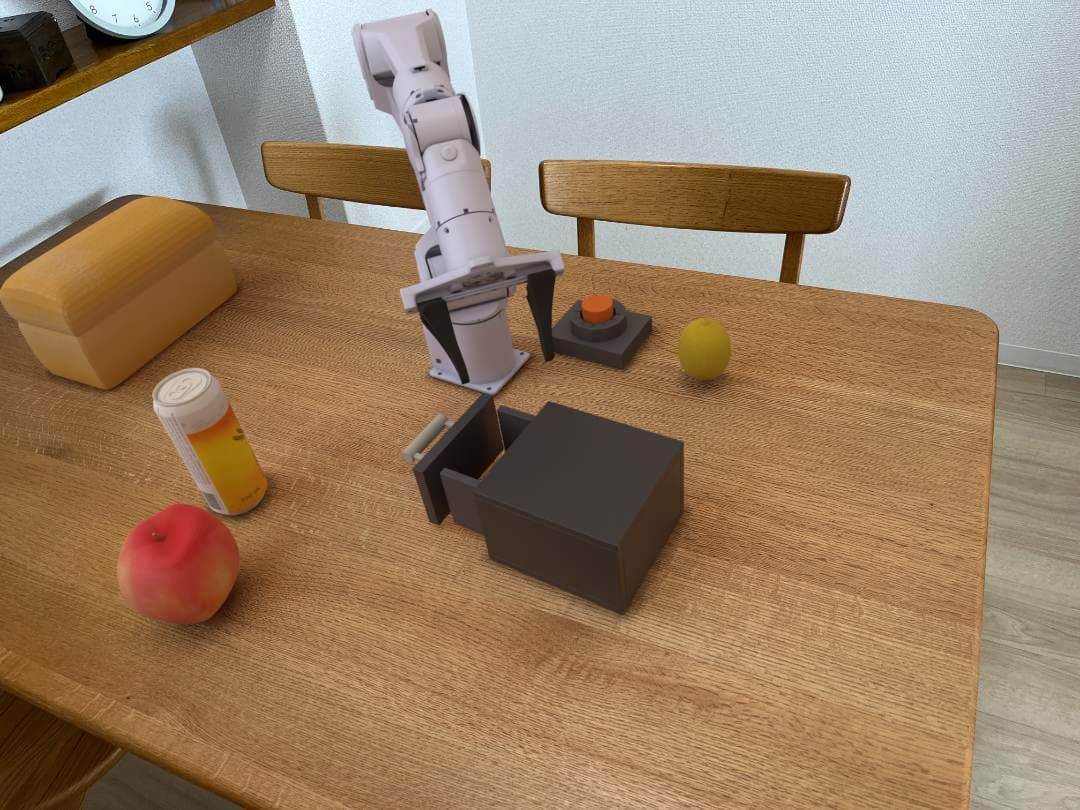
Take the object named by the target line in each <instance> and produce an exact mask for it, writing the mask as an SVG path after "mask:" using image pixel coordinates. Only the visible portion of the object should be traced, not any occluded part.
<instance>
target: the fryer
mask: <svg viewBox="0 0 1080 810" xmlns="http://www.w3.org/2000/svg"><path fill="white" fill-rule="evenodd" d="M534 416H535V417H534V419H533V420H532V421H531V422H530V423H529V425H528V426H527V427H526V428H525V429H524V430H523V432H522V433H521V434H520V435H519V436H518V438H517V439H516V440H515V441H514V442H513V444H512V445H511V446H510V447H509V448H508V449H507V451H506V452H505V451H504V452H503V454H502V455H501V456H500V458H498V460H497V461H496V462H495V463H494V465H493V466H492V467H491V468H490V469H489V471H488V472H487V473H486V474H485V476H484V477H483V478H481V480H480V481H481V482H480V483H479V484H478V485H477V486H476V488H475V489H474V490H473V495H474V499H475V503H476V507H477V511H478V515H479V518H480V522H481V526H482V530H483V534H484V535H483V538H484V541H485V545H486V550H487V553H488V557H489V560H492V561H494V562H496V563H499V564H500V565H503V566H506V567H507V568H510V569H512V570H515V571H517V572H519V573H522V574H524V575H527V576H528V577H532V578H533V579H536V580H539V581H541V582H542V583H545V584H548V585H550V586H552V587H555V588H557V589H560V590H562V591H565V592H566V593H569V594H571V595H574V596H576V597H579V598H581V599H583V600H585V601H588V602H590V603H593V604H595V605H597V606H599V607H602V608H604V609H606V610H608V611H611V612H614V613H616V614H619V615H620V616H624V615H625V613H626V611H627V610H628V608H629V607H630V605H631V603H632V601H633V600H634V598H635V596H636V594H637V593H638V591H639V589H640V588H641V586H642V584H643V583H644V581H645V579H646V578H647V576H648V574H649V573H650V571H651V569H652V568H653V566H654V564H655V562H656V561H657V559H658V557H659V555H660V554H661V552H662V551H663V549H664V547H665V546H666V544H667V542H668V540H669V538H670V537H671V535H672V534H673V532H674V531H675V528H676V527H677V525H678V523H679V522H680V520H681V518H682V517H683V515H684V513H685V449H684V448H685V442H684V441H682V440H679V439H676V438H672V437H669V436H666V435H664V434H663V435H662V434H659V433H656V432H653V431H649V430H647V429H643V428H639V427H636V426H634V425H630V424H627V423H623V422H620V421H616V420H613V419H611V418H606V417H604V416H600V415H597V414H595V413H590V412H586V411H583V410H581V409H577V408H574V407H570V406H567V405H563V404H560V403H558V402H555V401H550V400H548V401H547V402H546V403H545V404H544V405H543V406H542V408H541V409H540V410H539V412H538V413H537V414H536V415H534Z"/></svg>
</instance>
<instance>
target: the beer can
mask: <svg viewBox="0 0 1080 810" xmlns="http://www.w3.org/2000/svg"><path fill="white" fill-rule="evenodd" d="M151 395H152V399H153V401H152V405H153V406H152V407H153V410H154V413H155V414H156V416H157V417H158V419H159V422H160V423H161V424H162V427H163V428H164V430H165V431H166V433H167V435H168V437H169V438H170V440H171V442H172V445H174V447H175V449H176V451H177V453H178V455H179V456H180V458H181V459H182V461H183V464H184V465H185V466H186V468H187V470H188V472H189V474H190V476H191V477H192V478H193V480H194V482H195V484H196V486H197V487H198V490H199V491H200V492H201V494H202V496H203V498H204V500H205V501H206V503H207V504H208V506H209V508H210V510H212V511H213V512H216V513H218V514H223V515H226V516H238V515H241V514H244V513H247V512H249V511H251V510H252V509H254V508H255V507H257V506H258V504H260V502H261V501H262V500H263V498H264V497H265V494H266V491H267V489H268V479H267V477H266V475H265V472H264V471H263V469H262V466H261V464H260V463H259V461H258V459H257V457H256V455H255V453H254V450H253V448H252V446H251V444H250V442H249V440H248V438H247V436H246V434H245V432H244V430H243V428H242V426H241V423H240V422H239V419H238V418H237V415H236V413H235V412H234V409H233V408H232V406H231V405H232V404H231V403H230V401H229V399H228V397H227V396H226V392H224V389H223V387H222V385H221V383H220V381H219V379H218V378H216V377H215V376H213V375H212V374H211V373H210V372H209V371H208V370H206V369H205V368H201V367H192V368H184V369H180V370H178V371H175V372H172V373H170V374H169V375H167V376H166V377H164V378H163V379H162V380H160V381H159V382H158V383H156V386H155V387H154V388H153V390H152V394H151Z"/></svg>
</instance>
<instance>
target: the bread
mask: <svg viewBox="0 0 1080 810" xmlns="http://www.w3.org/2000/svg"><path fill="white" fill-rule="evenodd" d="M237 291H238V285H237V278H236V275H235V272H234V269H233V267H232V265H231V263H230V260H229V258H228V256H227V254H226V252H225V249H224V248H223V246H222V245H221V243H220V242H219V240H218V239H217V228H216V227H215V224H214V221H212V219H211V217H210V216H209V215H208V214H207V213H206V212H204V211H203V210H202V209H201V208H199V207H197V206H195V205H193V204H189V203H186V202H183V201H180V200H176V199H172V198H170V197H165V196H158V195H154V196H153V195H152V196H151V195H150V196H143V197H140V198H136V199H134V200H132V201H130V202H127V203H126V204H125V205H123V206H121V207H119V208H117V209H116V210H114V211H113V212H111V213H109V214H108V215H106V216H104V217H102V218H101V219H99V220H98V221H96V222H94V223H93V224H91V225H89V226H87V227H86V228H85V229H82V230H81V231H80V232H78V233H76V234H74V235H72V236H71V237H69V238H68V239H66V240H64V241H63V242H61V243H60V244H58V245H56V246H55V247H53V248H51V249H50V250H47V251H46V252H44V253H43V254H42V255H39V256H38V257H37V258H34V259H33V260H31V261H30V262H28V263H27V264H25V265H24V266H22V267H21V268H19V269H18V270H17V271H15V272H13V273H12V274H11V275H10V276H9V277H8V278H7V279H5V281H4V283H3V284H2V286H1V288H0V302H1V305H2V307H3V308H4V310H5V311H6V313H7V314H8V315H9V316H10V317H11V318H12V319H14V320H15V321H16V322H17V325H18V328H19V330H20V332H21V335H22V336H23V338H24V339H25V341H26V343H27V345H28V346H29V348H30V350H31V351H32V352H33V354H34V356H35V357H36V358H37V359H38V361H39V362H40V363H41V365H43V366H44V367H45V368H46V369H47V370H48V371H49V373H50V374H52V375H54V376H57V377H61V378H64V379H66V380H67V379H68V380H70V381H74V382H77V383H80V384H83V385H87V386H90V387H94V388H97V389H99V390H100V389H101V390H104V391H106V390H107V391H108V390H111V389H114V388H115V387H117V386H119V385H120V384H121V383H123V382H124V381H126V380H127V379H129V378H130V377H131V376H133V375H134V374H136V373H137V372H138V371H139V370H140V369H142V367H144V366H146V365H147V363H149V362H151V360H153V359H154V358H155V357H157V356H158V355H159V354H160V353H162V352H163V351H165V350H166V349H167V348H168V347H169V346H170V345H172V344H173V343H175V342H176V341H177V340H179V338H181V337H182V336H183V335H185V334H186V333H187V332H188V331H189V330H191V329H193V327H195V326H196V325H198V323H200V322H201V321H202V320H204V319H205V318H206V317H207V316H209V315H210V314H211V313H213V312H214V311H216V310H217V308H219V307H220V306H222V305H223V304H224V303H225V302H227V301H228V300H229V299H230V298H231V297H232V296H233V295H235V294H236V293H237Z"/></svg>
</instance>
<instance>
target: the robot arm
mask: <svg viewBox="0 0 1080 810" xmlns="http://www.w3.org/2000/svg"><path fill="white" fill-rule="evenodd" d="M441 24H442V23H441V21H440V18H439V16H438V13H437V12H435V11H434V10H433V9H432V8H426V9H425V11H420V12H415V13H410V14H404V15H400V16H395V17H391V18H390V17H389V18H386V19H380V20H376V21H370V22H365V23H361V24H360V23H359V22H356V23H354V24H353V27H352V28H351V30H350V31H351V36H352V40H353V45H354V48H355V53H356V57H357V60H358V64H359V67H360V72H361V75H362V77H363V80H364V82H365V85H366V89H367V92H368V96H369V99H370V100H371V101H372V102H373V105H374V108H375V110H378V111H380V112H382V113H386V114H388V115H391V116H392V118H393V119H394V121H395V123H396V126H397V127H398V128H399V130H400V132H401V134H402V136H403V138H402V139H403V142H404V145H405V150H406V153H407V156H408V159H409V162H410V164H411V166H412V168H413V171H414V174H415V179H416V182H417V184H418V189H419V191H420V195H421V198H422V202H423V204H424V207H425V211H426V214H427V218H428V221H429V225H430V227H429V228H428V230H427V231H426V232H425V233H424V234H423V235H422V236H421V237H420V238H419V240H418V241H417V242H416V243H415V245H414V247H415V250H414V252H413V254H414V259H415V263H416V270H417V274H418V278H419V283H416V284H413V285H411V286H407V287H403V288H400V289H399V293H400V296H401V300H402V304H403V308H404V311H405V314H406V316H412V315H415V314H419V318H420V320H421V323H422V329H423V334H424V338H425V341H426V346H427V350H428V354H429V357H430V360H431V365H432V369H430V371H428V374H429V376H431V377H432V378H436V379H438V380H442V381H445V382H448V383H450V384H451V383H452V384H455V385H458V386H461V387H464V388H467V389H470V390H474V391H477V392H480V393H487V394H490V395H493V396H494V395H497V394H498V393H499V392H500V391H501V390H502V388H504V386H505V385H506V384H507V383H508V382H509V381H510V380H511V379H512V378H513V377H514V375H515V374H516V373H517V372H518V371H519V370H520V369H521V368H522V366H524V364H525V363H527V361H528V360H529V359H530V358H531V355H530V353H529V352H528V351H523V350H520V349H517V348H514V346H513V341H512V335H511V332H510V331H511V330H510V323H509V319H508V313H507V308H509V306H510V305H509V301H508V299H509V298H512V297H514V296H515V293H516V291H517V286H519V285H523V284H526V286H525V289H526V290H525V291H526V296H525V297H526V298H525V299H526V301H527V303H528V307H529V309H530V312H531V315H532V318H533V321H534V323H535V326H536V327H535V328H536V331H537V333H538V334H537V335H538V339H539V344H540V347H541V352H542V356H543V359H544V361H545V363H548V362H552V361H554V359H555V357H556V353H555V351H554V347H553V339H552V327H553V326H552V325H553V304H554V294H555V286H556V279H557V278H559V277H562V276H564V273H565V271H566V268H565V265H564V261H563V258H562V254H561V251H560V249H559V248H557V249H553V250H548V251H544V252H542V251H541V252H537V253H529V254H521V255H520V254H519V255H513V256H511V254H510V251H509V249H508V247H507V244H506V242H505V239H504V236H503V231H502V227H501V225H500V222H499V217H498V215H497V211H496V208H495V204H494V201H493V197H492V194H491V191H490V188H489V187H490V186H489V184H488V181H487V177H486V173H485V170H484V165H483V163H482V160H481V154H482V151H481V149H482V147H481V136H480V130H479V126H478V121H477V118H476V115H475V111H474V108H473V106H472V103H471V101H470V99H469V97H468V95H467V94H466V92H465V91H461V92H457V93H456V91H455V88H454V87H453V84H452V82H451V75H450V69H449V63H448V52H447V46H446V40H445V35H444V31H443V26H442V25H441Z"/></svg>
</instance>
